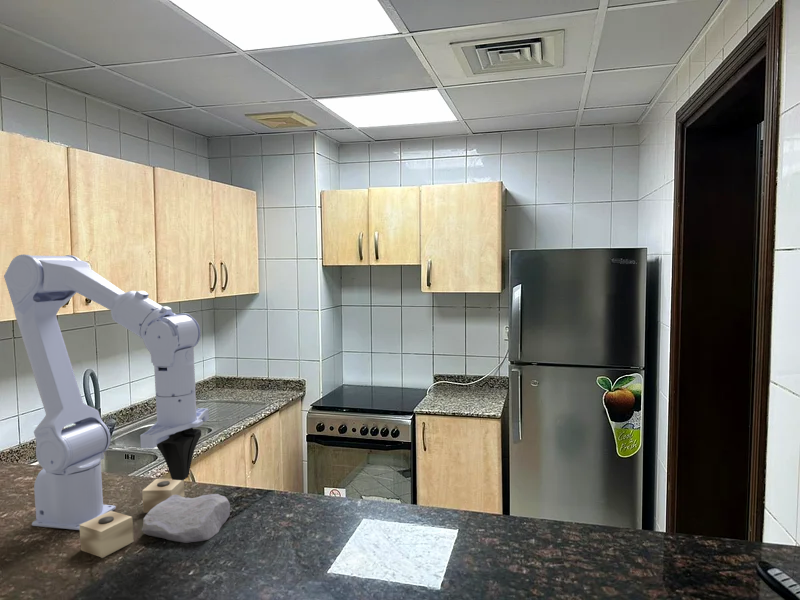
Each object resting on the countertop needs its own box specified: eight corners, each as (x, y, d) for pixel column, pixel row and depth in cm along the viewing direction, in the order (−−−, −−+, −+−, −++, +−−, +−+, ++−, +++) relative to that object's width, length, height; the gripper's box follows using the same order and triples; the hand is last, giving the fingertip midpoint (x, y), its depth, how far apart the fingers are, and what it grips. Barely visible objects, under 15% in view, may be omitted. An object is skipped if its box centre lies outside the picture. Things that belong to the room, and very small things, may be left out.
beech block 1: (81, 551, 79) (79, 523, 79) (112, 535, 84) (110, 509, 83) (102, 558, 77) (101, 530, 77) (133, 542, 81) (132, 515, 81)
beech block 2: (143, 513, 91) (142, 489, 91) (157, 500, 96) (156, 477, 96) (172, 513, 91) (171, 489, 91) (185, 500, 96) (183, 477, 96)
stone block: (210, 555, 81) (235, 512, 90) (205, 528, 79) (230, 487, 89) (135, 555, 82) (168, 513, 91) (129, 528, 80) (162, 488, 90)
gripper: (169, 405, 75) (174, 499, 76) (223, 383, 89) (227, 462, 90) (125, 404, 76) (130, 496, 77) (186, 382, 91) (189, 460, 91)
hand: (180, 478), depth 84 cm, fingers closed
